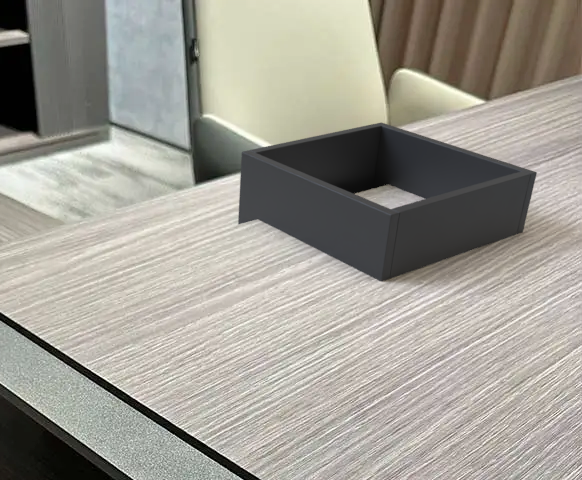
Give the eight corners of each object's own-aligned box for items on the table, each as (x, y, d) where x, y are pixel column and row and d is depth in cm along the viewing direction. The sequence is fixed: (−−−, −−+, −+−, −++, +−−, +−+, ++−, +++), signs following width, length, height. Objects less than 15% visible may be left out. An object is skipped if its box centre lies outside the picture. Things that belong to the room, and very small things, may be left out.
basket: (371, 192, 75) (381, 122, 71) (518, 252, 64) (537, 172, 60) (237, 228, 67) (241, 151, 64) (378, 304, 56) (391, 214, 53)
